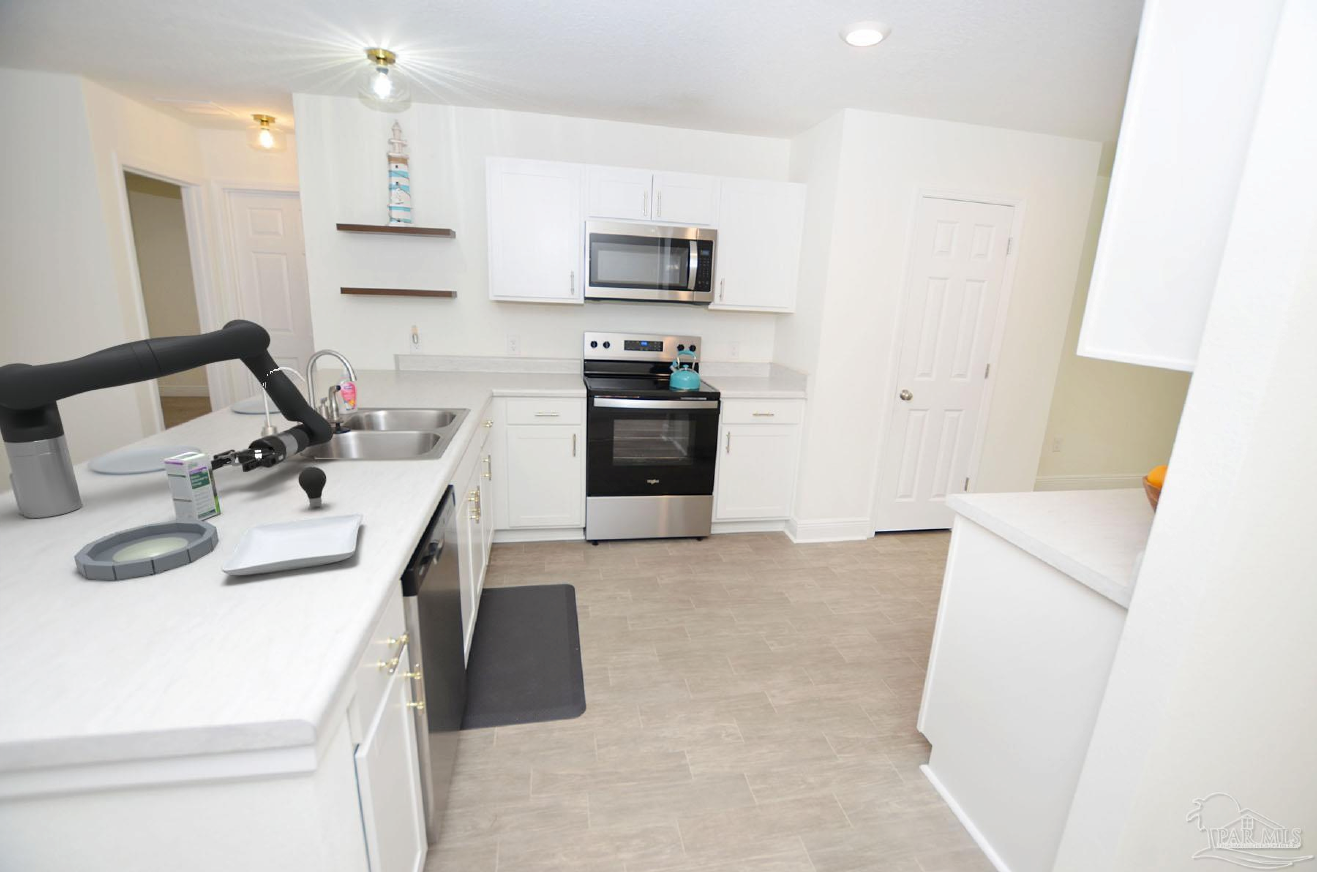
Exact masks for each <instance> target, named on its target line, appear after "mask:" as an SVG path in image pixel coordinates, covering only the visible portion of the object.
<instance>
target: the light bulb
mask: <svg viewBox="0 0 1317 872" xmlns="http://www.w3.org/2000/svg"><path fill="white" fill-rule="evenodd" d="M297 481H298V483H299V486H300V487H301V489H302V490H303V491H304V492H305V493H306V496H307V498H308V501H309V506H310V507H313V508H314V509H318V508H319V507H320V506H321V505H322V504H323V503H322V502H323V499H322V496H323V491H324V490H323V489H324V488H325V485H326V483H327V475H326V473H325V471H324V470H322V469H321V468H319V467H317V466H310V467H306V468H305V469H303V470H301V472H300V473H299V475H298V479H297Z"/></svg>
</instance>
